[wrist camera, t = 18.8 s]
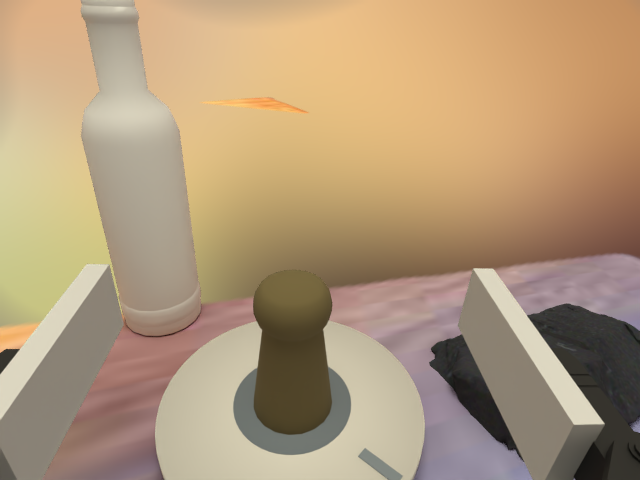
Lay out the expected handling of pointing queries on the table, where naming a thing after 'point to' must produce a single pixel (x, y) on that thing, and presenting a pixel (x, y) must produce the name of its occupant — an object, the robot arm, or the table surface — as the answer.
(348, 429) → the turntable
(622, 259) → the table surface
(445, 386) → the table surface
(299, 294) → the cork
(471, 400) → the dark grey folded cloth
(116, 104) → the bottle
